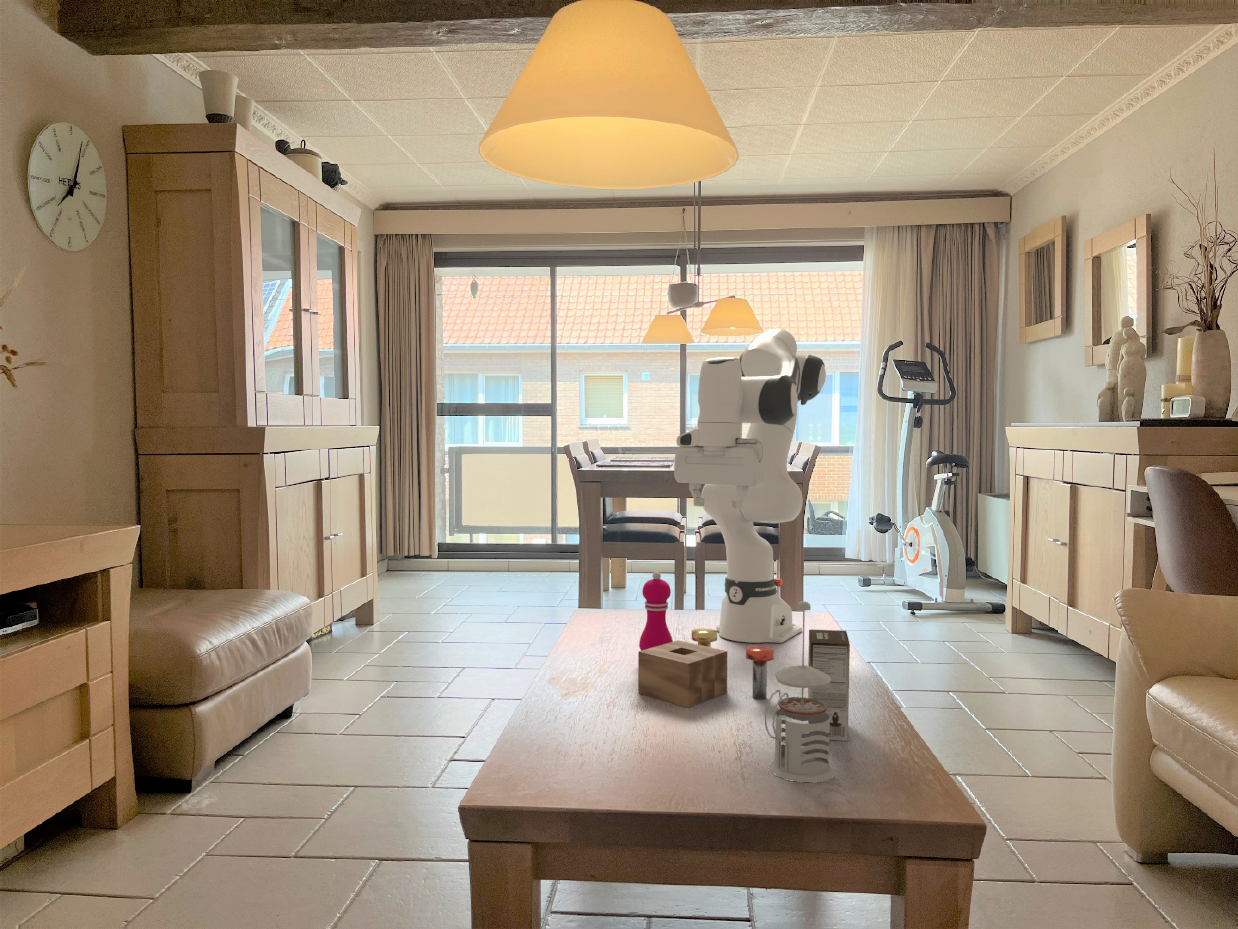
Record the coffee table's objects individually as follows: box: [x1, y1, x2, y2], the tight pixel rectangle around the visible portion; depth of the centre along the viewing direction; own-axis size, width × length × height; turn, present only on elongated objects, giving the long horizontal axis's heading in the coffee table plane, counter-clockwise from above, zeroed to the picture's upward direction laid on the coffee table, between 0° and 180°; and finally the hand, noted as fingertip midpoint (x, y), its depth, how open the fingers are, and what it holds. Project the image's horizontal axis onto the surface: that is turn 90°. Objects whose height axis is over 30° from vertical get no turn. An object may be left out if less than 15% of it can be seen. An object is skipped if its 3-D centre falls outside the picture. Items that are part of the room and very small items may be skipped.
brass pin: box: [691, 627, 718, 648], centre depth 171 cm, size 5×5×9 cm
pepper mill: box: [638, 571, 674, 651], centre depth 178 cm, size 7×7×20 cm
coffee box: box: [807, 629, 851, 742], centre depth 139 cm, size 9×6×16 cm
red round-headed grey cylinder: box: [745, 645, 775, 700], centre depth 157 cm, size 5×5×9 cm
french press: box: [764, 600, 837, 784], centre depth 123 cm, size 10×12×25 cm
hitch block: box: [637, 639, 728, 709], centre depth 159 cm, size 12×12×8 cm
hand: (717, 507), depth 166 cm, fingers open, 8 cm apart
